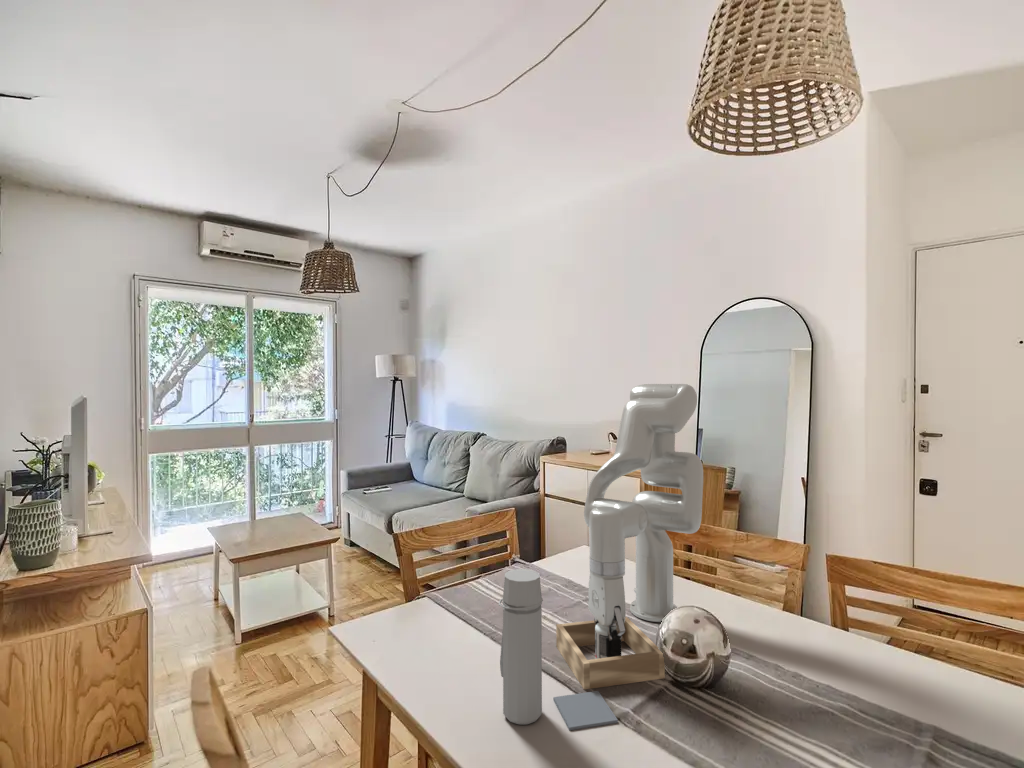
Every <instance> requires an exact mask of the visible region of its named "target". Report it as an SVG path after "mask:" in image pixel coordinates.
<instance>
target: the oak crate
mask: <svg viewBox="0 0 1024 768" xmlns="http://www.w3.org/2000/svg"><path fill="white" fill-rule="evenodd" d="M595 625H596V624H595V623H594V619H593V620H586V621H585V620H584V621H575V622H568V623H557V624H555V626H556V627H555V628H556V629H555V630H556V633H555V634H556V637H555V639H556V641H555V642H556V643H555V645H556V646H555V647H556V648H557V650H558V652H559V653H560V655H561V656H562V658H563V660H564V661H565V663H566V664H567V666H568V667H569V668H570V671H571V672H572V674H573V675H574V677H575V678H576V680H577V681H578V682H579V684H580V686H581V688H582V689H583V690H590V689H599V688H605V687H612V686H618V685H627V684H634V683H639V682H646V681H647V682H648V681H655V680H664V679H666V675H665V674H666V673H665V669H666V666H665V665H666V663H664V657H663V653H662V652H661V651H660V650H659V649H658V648H659V647H658V645H656V644H655V642H654V641H652V640H651V639H650V638H649V637H648V635H647V634H646V633H644V632H643V631H642V630H641V629H640V628H639V627H638V626H637V625H636V624H635V623H634V622H633V621H631V619H630V618H629V617H627V616H625V623H624V627H625V633H624V634H623V635H622V639H621V642H624V643H625V644H626V645H627V646H628V647H630V649H631V650H632V651H633V652H634V653H633V654H632V653H630V654H624V655H623V654H622V655H621V656H615V657H607V658H599V659H596V658H593V659H587V657H586V656H585V654H584V653H583V651H582V650H581V649H580V648H581V647H584V646H585V647H587V646H595Z"/></svg>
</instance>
